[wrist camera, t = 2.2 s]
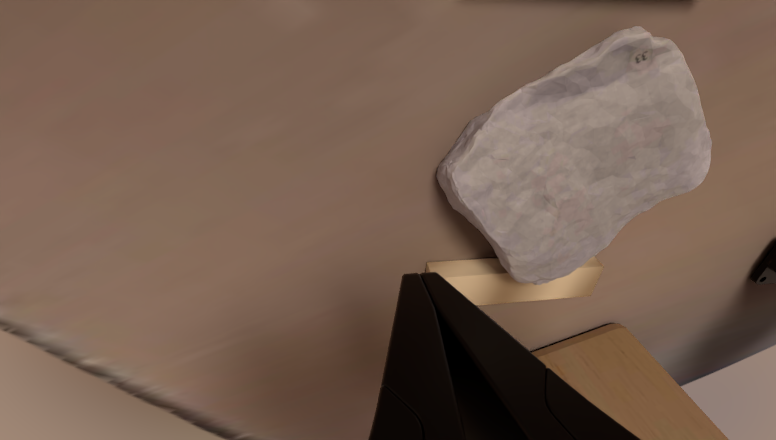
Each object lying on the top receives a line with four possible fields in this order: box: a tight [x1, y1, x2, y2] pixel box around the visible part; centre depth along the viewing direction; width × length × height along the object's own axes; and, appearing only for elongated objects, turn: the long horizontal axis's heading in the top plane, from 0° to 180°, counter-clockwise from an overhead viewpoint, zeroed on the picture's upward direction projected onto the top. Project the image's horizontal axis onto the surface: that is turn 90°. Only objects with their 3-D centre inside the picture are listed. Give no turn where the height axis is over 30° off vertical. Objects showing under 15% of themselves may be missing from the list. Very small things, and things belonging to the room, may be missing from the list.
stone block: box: [436, 26, 712, 285], centre depth 18 cm, size 12×5×10 cm
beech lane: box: [426, 257, 604, 306], centre depth 18 cm, size 11×20×2 cm, turn 178°
